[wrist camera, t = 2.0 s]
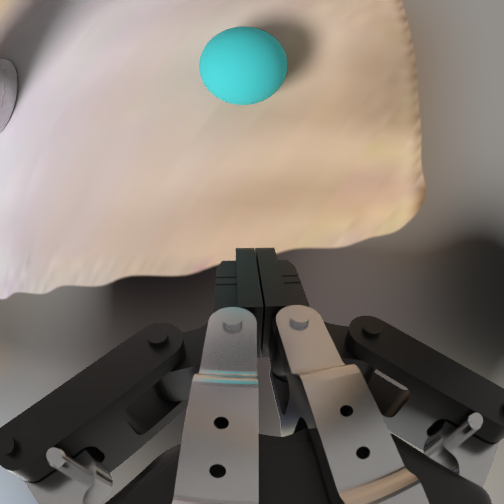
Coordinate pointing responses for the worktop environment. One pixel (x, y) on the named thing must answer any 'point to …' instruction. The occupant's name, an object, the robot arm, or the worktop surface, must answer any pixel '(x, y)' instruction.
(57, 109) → the worktop surface
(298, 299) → the robot arm
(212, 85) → the ball
